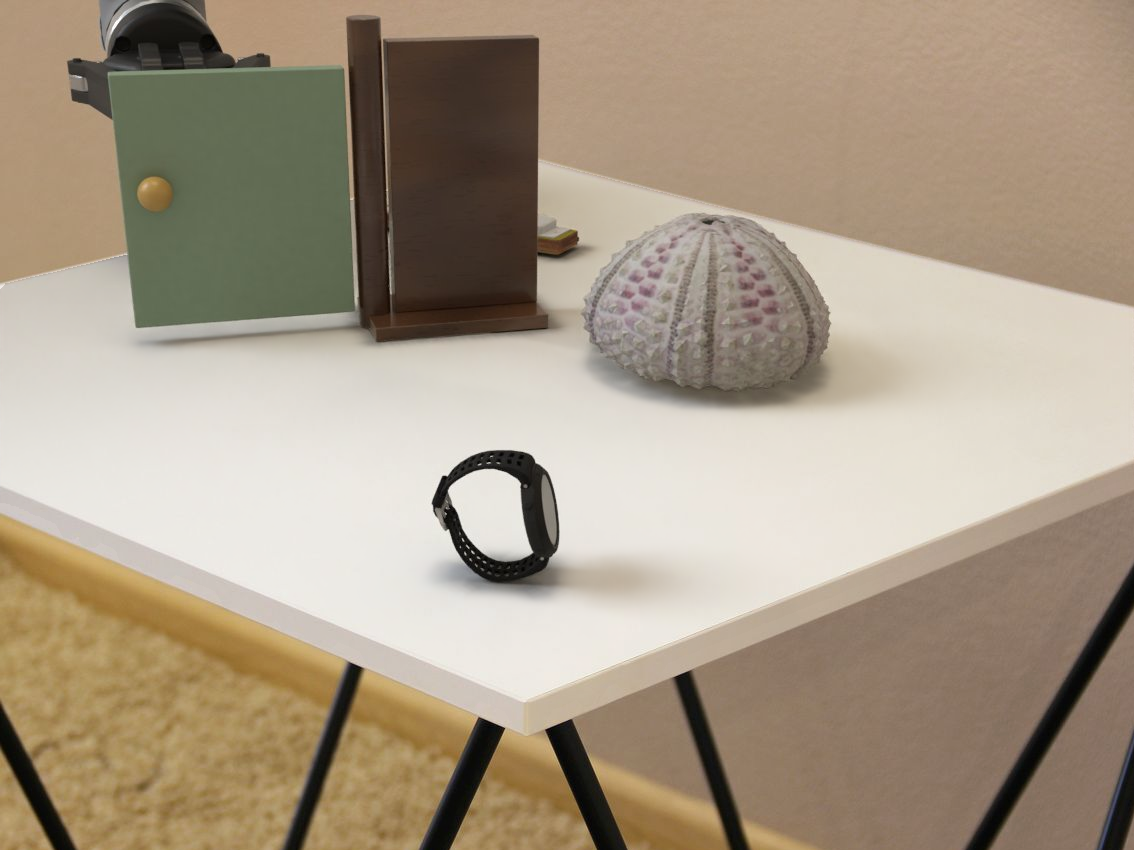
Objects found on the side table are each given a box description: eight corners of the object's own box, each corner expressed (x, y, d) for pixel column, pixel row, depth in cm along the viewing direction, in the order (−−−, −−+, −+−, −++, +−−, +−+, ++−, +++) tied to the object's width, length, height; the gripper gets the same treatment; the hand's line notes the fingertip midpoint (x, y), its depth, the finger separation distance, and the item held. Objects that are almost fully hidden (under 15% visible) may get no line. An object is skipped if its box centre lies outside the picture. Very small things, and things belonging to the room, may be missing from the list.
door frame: (369, 342, 85) (356, 25, 77) (350, 309, 90) (336, 9, 83) (548, 327, 88) (552, 21, 80) (520, 297, 93) (521, 6, 86)
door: (137, 338, 81) (109, 80, 76) (134, 322, 84) (107, 71, 78) (360, 321, 85) (349, 73, 79) (352, 306, 87) (341, 64, 81)
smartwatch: (534, 607, 58) (535, 487, 56) (419, 576, 60) (416, 459, 58) (583, 563, 61) (585, 449, 59) (473, 535, 63) (471, 423, 61)
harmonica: (579, 247, 103) (579, 218, 102) (558, 258, 100) (558, 228, 100) (396, 218, 109) (395, 190, 108) (372, 228, 106) (370, 200, 105)
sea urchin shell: (657, 309, 91) (663, 176, 88) (869, 354, 85) (884, 212, 81) (534, 373, 81) (536, 224, 77) (765, 429, 75) (777, 271, 71)
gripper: (264, 109, 108) (314, 189, 88) (71, 117, 104) (77, 202, 84) (256, -1, 105) (306, 55, 84) (57, 3, 101) (59, 63, 81)
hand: (192, 128), depth 84 cm, fingers closed
